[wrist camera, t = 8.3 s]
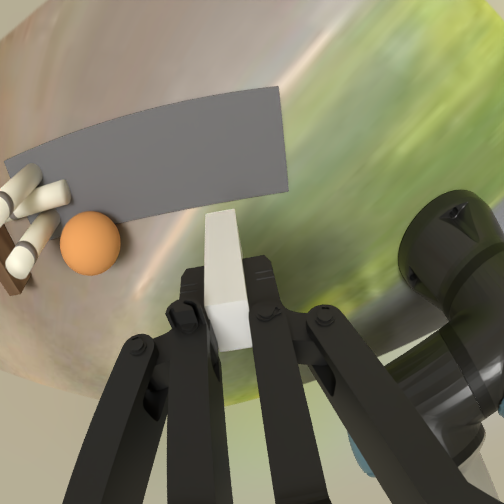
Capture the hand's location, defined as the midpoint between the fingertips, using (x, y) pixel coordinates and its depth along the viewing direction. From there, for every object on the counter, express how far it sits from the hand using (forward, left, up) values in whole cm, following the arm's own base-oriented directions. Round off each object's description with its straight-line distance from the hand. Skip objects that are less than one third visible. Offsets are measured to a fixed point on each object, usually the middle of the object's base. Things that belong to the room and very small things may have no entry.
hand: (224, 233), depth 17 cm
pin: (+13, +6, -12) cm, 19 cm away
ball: (+10, +10, -10) cm, 17 cm away
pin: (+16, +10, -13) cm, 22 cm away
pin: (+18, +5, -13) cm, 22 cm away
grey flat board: (+7, +3, -13) cm, 15 cm away
